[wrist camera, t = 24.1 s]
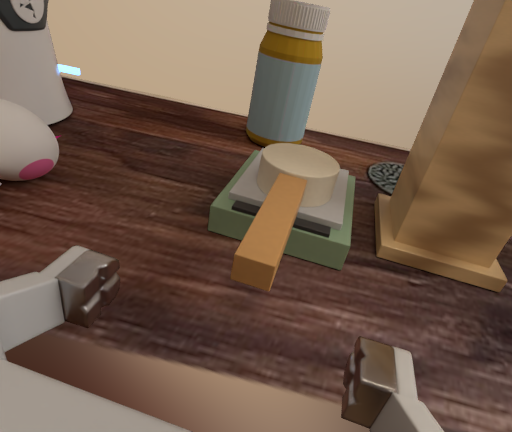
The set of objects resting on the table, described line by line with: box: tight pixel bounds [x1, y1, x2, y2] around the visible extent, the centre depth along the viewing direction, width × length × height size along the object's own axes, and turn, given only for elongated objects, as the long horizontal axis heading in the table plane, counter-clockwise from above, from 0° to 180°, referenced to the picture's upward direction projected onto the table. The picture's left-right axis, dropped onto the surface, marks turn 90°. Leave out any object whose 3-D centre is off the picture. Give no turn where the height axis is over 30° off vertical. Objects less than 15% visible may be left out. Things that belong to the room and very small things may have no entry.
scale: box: [208, 148, 355, 270], centre depth 30 cm, size 10×12×3 cm
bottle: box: [246, 0, 330, 147], centre depth 41 cm, size 7×7×15 cm
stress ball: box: [0, 99, 60, 181], centre depth 27 cm, size 8×8×7 cm
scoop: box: [230, 143, 340, 291], centre depth 24 cm, size 6×16×2 cm, turn 164°
